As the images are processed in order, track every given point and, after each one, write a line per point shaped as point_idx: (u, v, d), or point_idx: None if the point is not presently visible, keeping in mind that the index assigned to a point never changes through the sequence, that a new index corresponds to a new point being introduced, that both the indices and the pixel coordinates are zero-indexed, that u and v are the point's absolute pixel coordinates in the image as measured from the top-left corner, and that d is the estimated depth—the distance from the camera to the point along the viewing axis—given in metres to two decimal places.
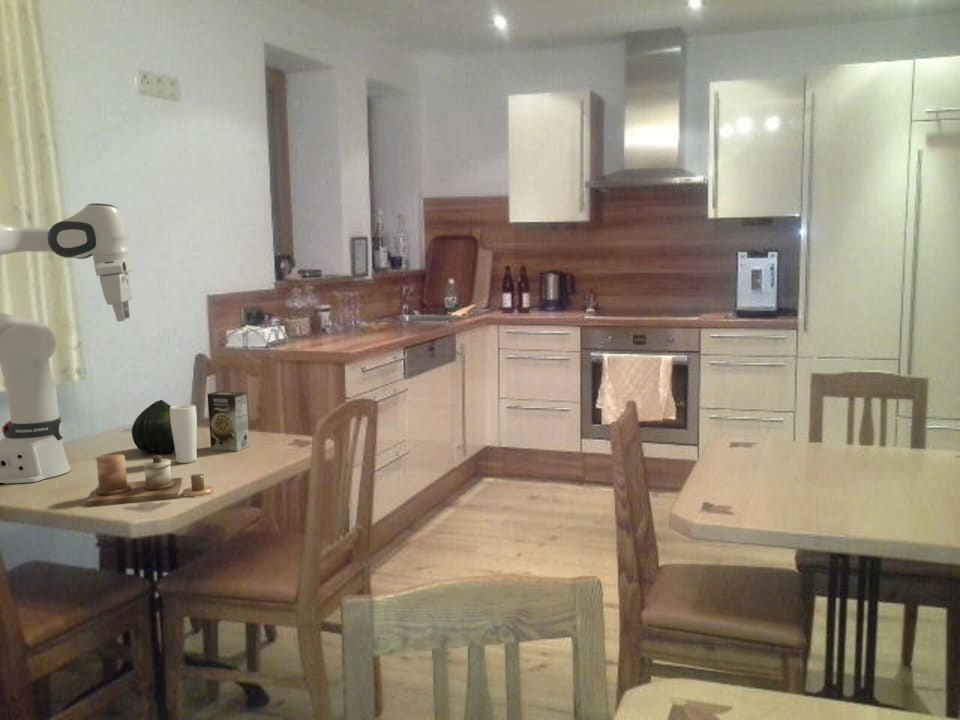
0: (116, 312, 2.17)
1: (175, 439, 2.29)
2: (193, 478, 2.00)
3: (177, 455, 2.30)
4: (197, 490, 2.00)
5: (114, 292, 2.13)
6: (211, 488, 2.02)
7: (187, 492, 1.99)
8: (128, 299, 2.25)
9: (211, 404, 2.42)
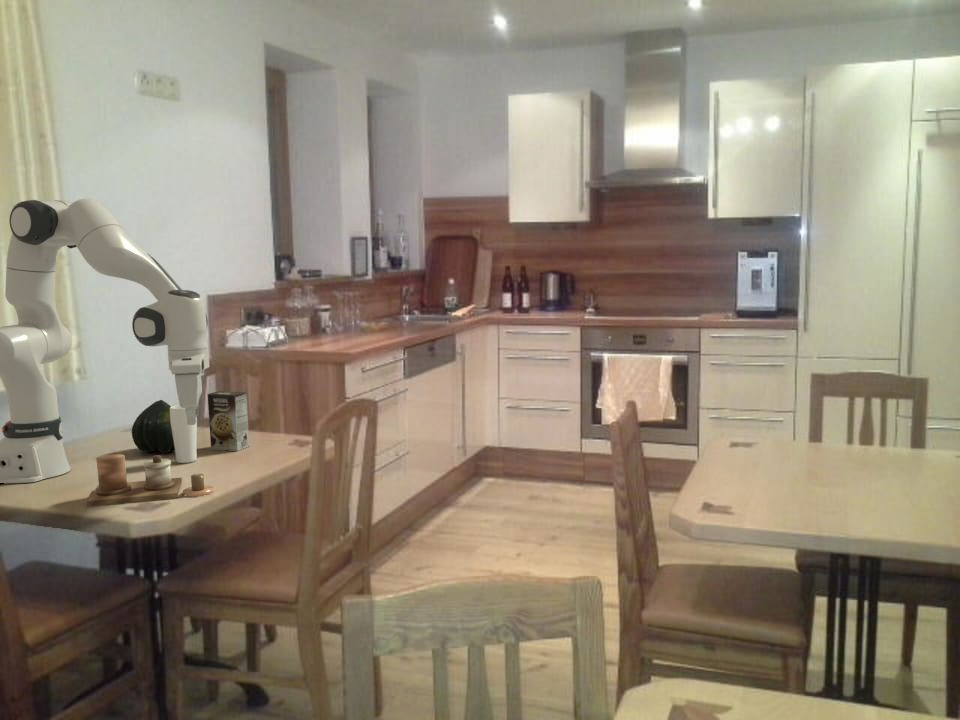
0: (188, 415, 1.93)
1: (175, 439, 2.29)
2: (193, 478, 2.00)
3: (177, 455, 2.30)
4: (197, 490, 2.00)
5: (190, 395, 1.89)
6: (211, 488, 2.02)
7: (187, 492, 1.99)
8: None
9: (211, 404, 2.42)
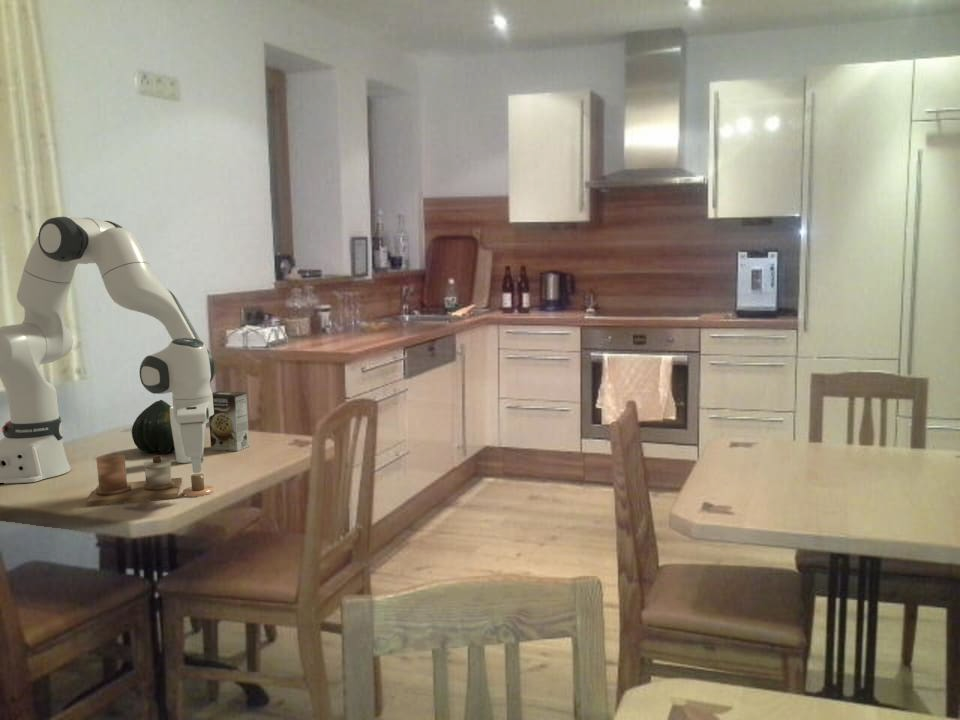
0: (193, 463, 1.95)
1: (175, 439, 2.29)
2: (193, 478, 2.00)
3: (177, 455, 2.30)
4: (197, 490, 2.00)
5: (195, 444, 1.90)
6: (211, 488, 2.02)
7: (187, 492, 1.99)
8: None
9: None
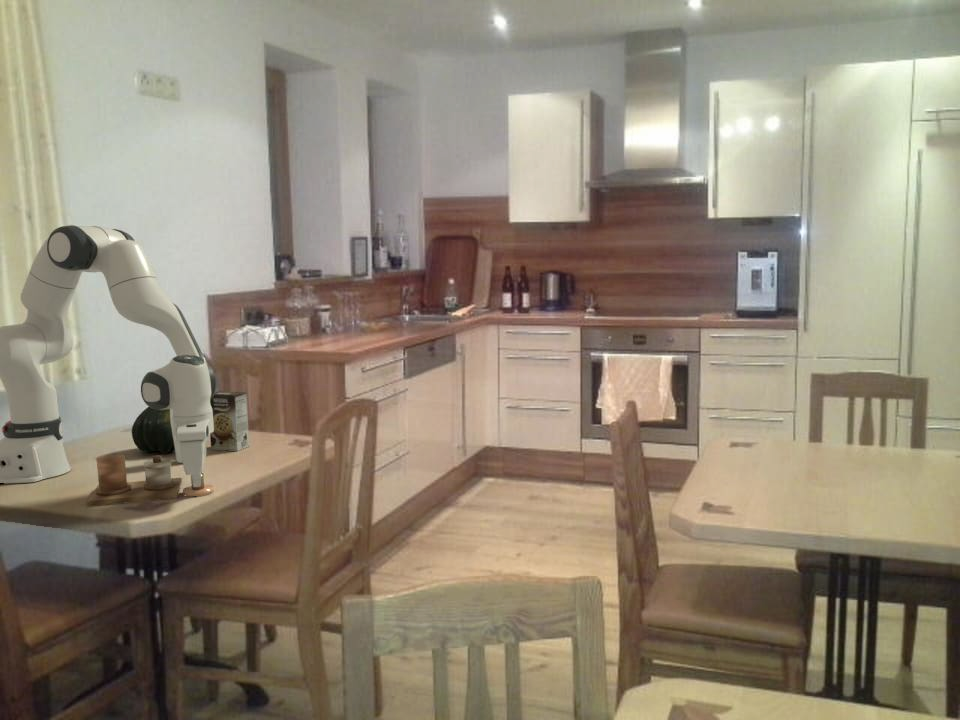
0: (193, 477, 1.98)
1: (175, 439, 2.29)
2: None
3: (177, 455, 2.30)
4: (197, 489, 2.00)
5: (195, 462, 1.91)
6: (211, 487, 2.02)
7: (187, 491, 1.99)
8: None
9: (211, 404, 2.42)
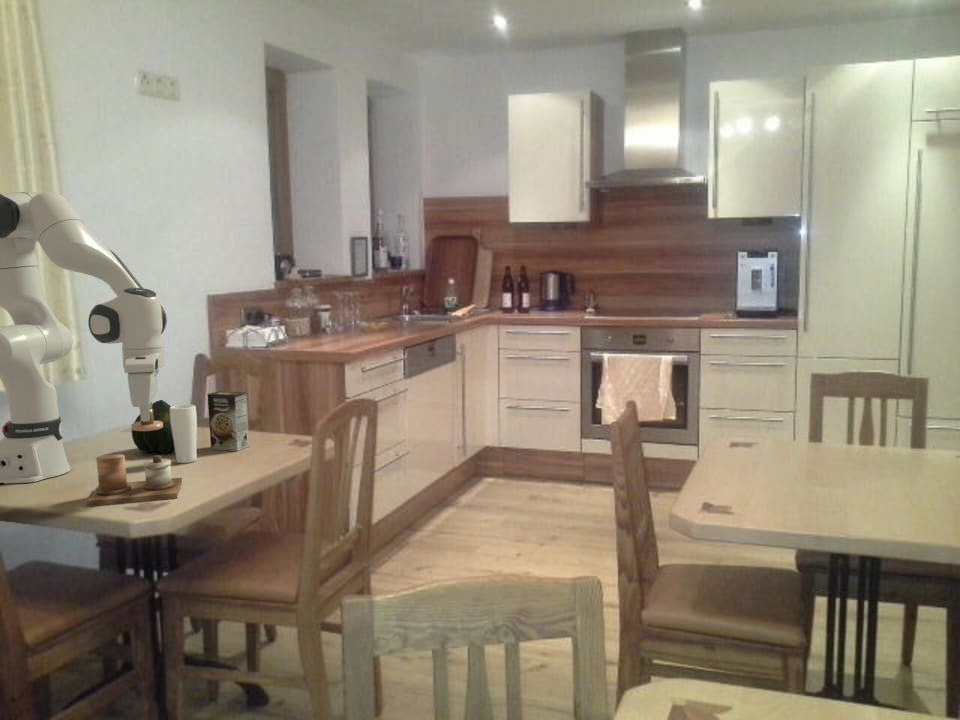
0: (142, 411, 1.96)
1: (175, 439, 2.29)
2: None
3: (177, 455, 2.30)
4: (146, 424, 1.98)
5: (142, 394, 1.89)
6: (160, 423, 2.00)
7: (135, 425, 1.97)
8: (154, 395, 2.01)
9: (211, 404, 2.42)
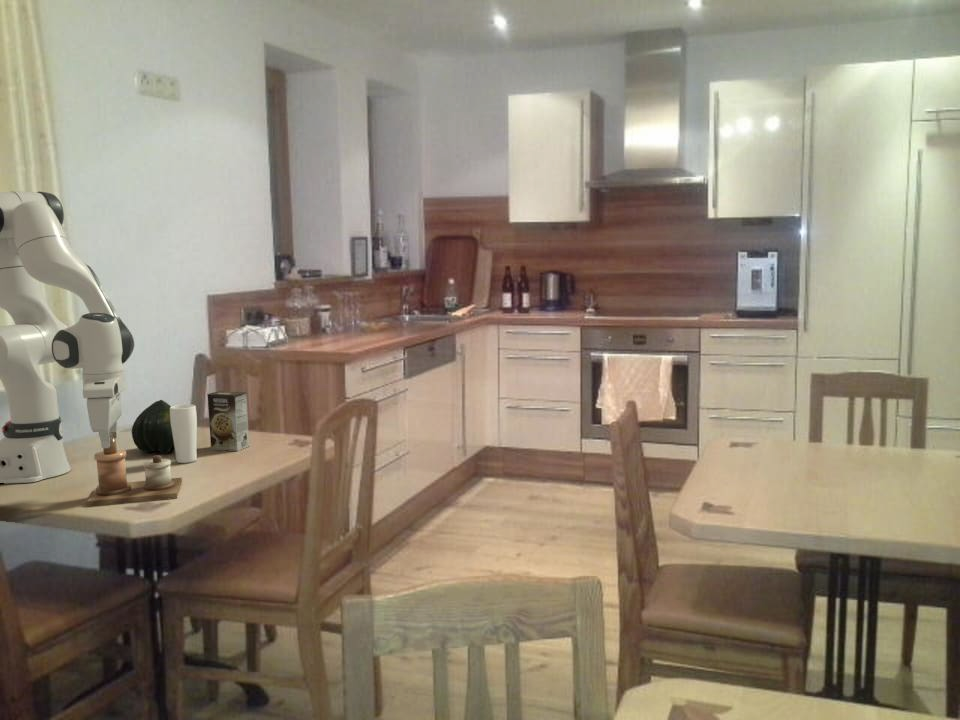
0: (102, 438, 1.93)
1: (175, 439, 2.29)
2: None
3: (177, 455, 2.30)
4: (108, 453, 1.98)
5: (101, 419, 1.89)
6: (123, 452, 2.00)
7: (98, 455, 1.97)
8: None
9: (211, 404, 2.42)
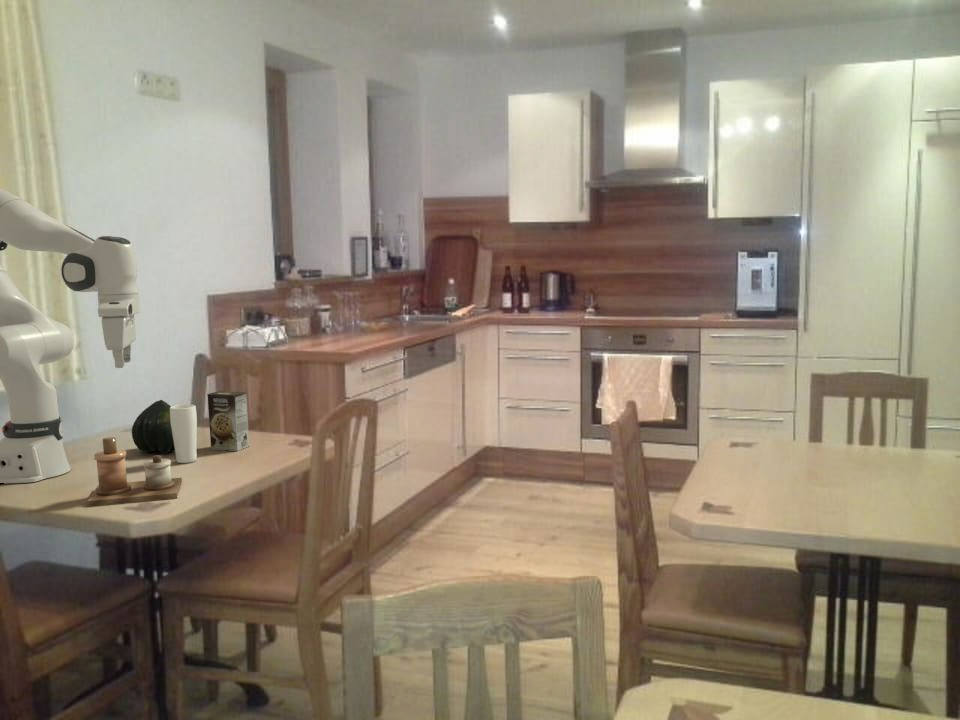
0: (115, 358, 1.98)
1: (175, 439, 2.29)
2: (104, 441, 1.98)
3: (177, 455, 2.30)
4: (108, 453, 1.98)
5: (116, 337, 1.93)
6: (123, 452, 2.00)
7: (98, 455, 1.97)
8: (131, 342, 2.05)
9: (211, 404, 2.42)
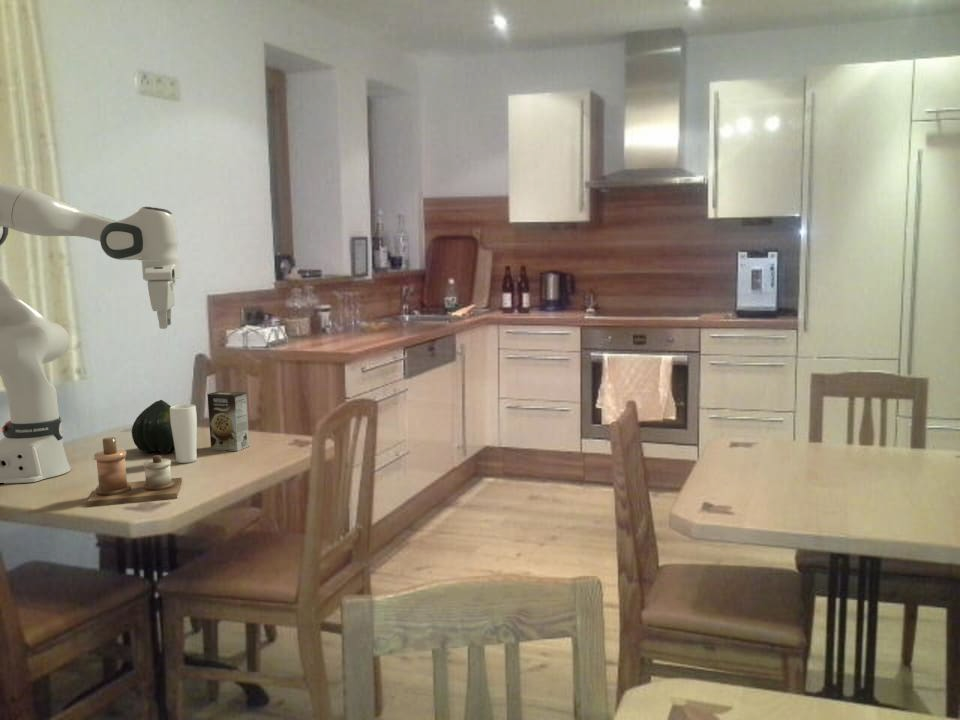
0: (160, 319, 2.13)
1: (175, 439, 2.29)
2: (104, 441, 1.98)
3: (177, 455, 2.30)
4: (108, 453, 1.98)
5: (161, 299, 2.08)
6: (123, 452, 2.00)
7: (98, 455, 1.97)
8: (172, 306, 2.21)
9: (211, 404, 2.42)
